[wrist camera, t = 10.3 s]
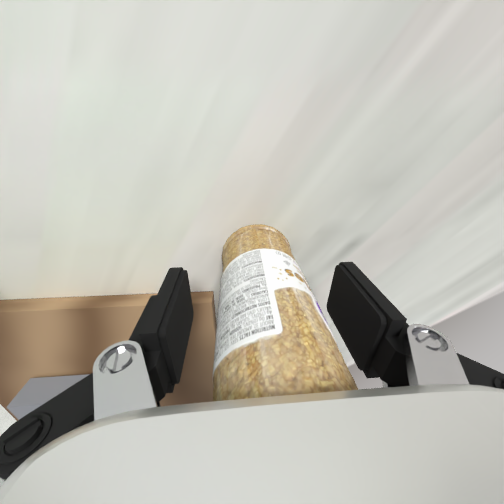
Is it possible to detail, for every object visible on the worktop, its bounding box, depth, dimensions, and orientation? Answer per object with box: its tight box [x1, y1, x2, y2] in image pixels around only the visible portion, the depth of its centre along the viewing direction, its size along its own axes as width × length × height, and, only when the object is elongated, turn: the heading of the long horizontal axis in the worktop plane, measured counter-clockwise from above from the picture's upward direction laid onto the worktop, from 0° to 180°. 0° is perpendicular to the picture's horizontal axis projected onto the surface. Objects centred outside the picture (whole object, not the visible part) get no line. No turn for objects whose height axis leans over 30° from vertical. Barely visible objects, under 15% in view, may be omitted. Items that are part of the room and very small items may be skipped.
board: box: [0, 291, 217, 421], centre depth 18 cm, size 18×14×1 cm
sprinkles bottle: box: [212, 225, 358, 401], centre depth 9 cm, size 5×5×13 cm
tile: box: [6, 374, 90, 420], centre depth 18 cm, size 2×7×8 cm
